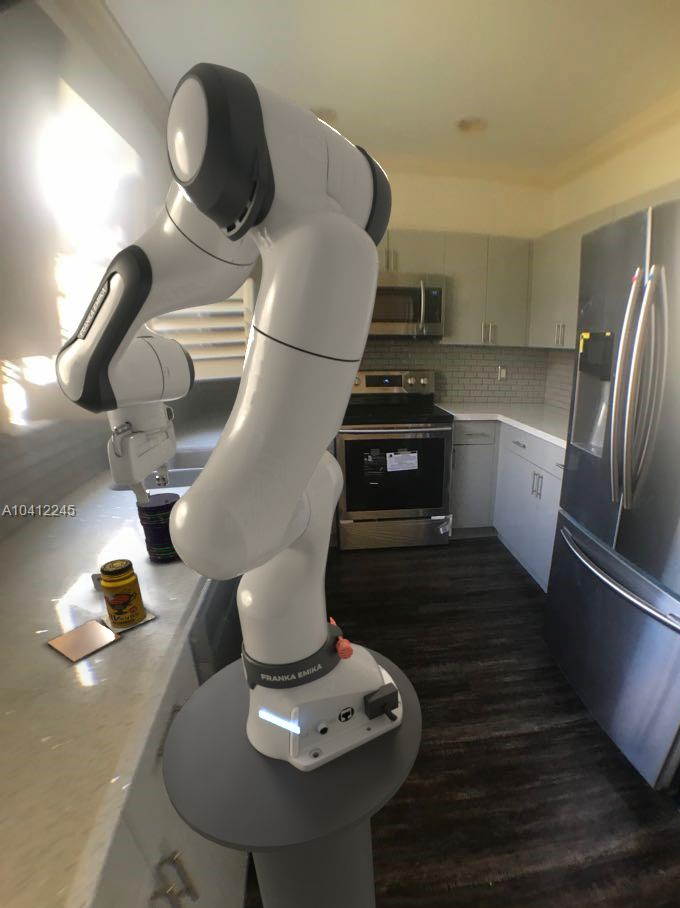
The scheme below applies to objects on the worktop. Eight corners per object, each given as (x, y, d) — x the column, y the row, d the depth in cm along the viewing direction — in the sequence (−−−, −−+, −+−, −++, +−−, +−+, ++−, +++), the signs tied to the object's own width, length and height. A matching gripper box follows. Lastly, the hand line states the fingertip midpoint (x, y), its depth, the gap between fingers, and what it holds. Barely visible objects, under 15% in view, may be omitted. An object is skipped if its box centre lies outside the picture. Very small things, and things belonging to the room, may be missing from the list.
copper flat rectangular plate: (93, 621, 89) (93, 619, 89) (121, 637, 84) (120, 636, 84) (48, 643, 83) (47, 642, 83) (74, 662, 78) (74, 661, 78)
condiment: (115, 634, 84) (101, 576, 80) (99, 617, 90) (86, 562, 86) (155, 618, 89) (144, 563, 85) (138, 602, 95) (127, 550, 91)
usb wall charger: (95, 590, 100) (90, 574, 99) (106, 575, 106) (102, 560, 105) (115, 588, 101) (110, 572, 99) (125, 573, 107) (121, 557, 106)
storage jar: (140, 560, 113) (125, 503, 108) (172, 544, 121) (161, 490, 116) (168, 567, 109) (154, 509, 103) (200, 550, 117) (189, 495, 112)
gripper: (131, 428, 70) (150, 513, 75) (176, 407, 88) (188, 476, 94) (88, 430, 69) (110, 515, 74) (142, 408, 88) (157, 477, 93)
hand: (154, 493), depth 84 cm, fingers open, 8 cm apart
